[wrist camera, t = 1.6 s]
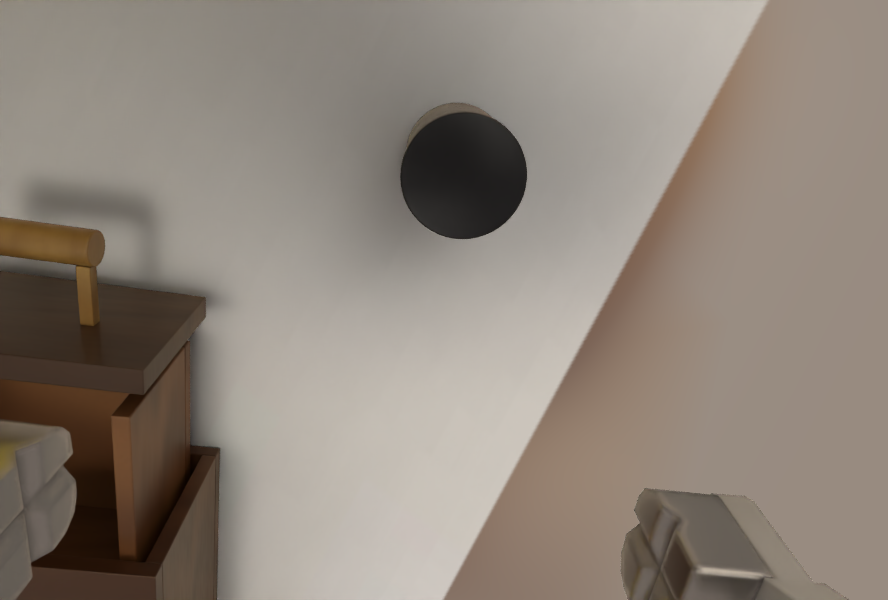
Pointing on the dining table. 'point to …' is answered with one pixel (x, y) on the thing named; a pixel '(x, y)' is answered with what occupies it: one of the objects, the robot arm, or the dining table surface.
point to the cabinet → (169, 563)
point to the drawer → (100, 385)
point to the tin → (462, 172)
